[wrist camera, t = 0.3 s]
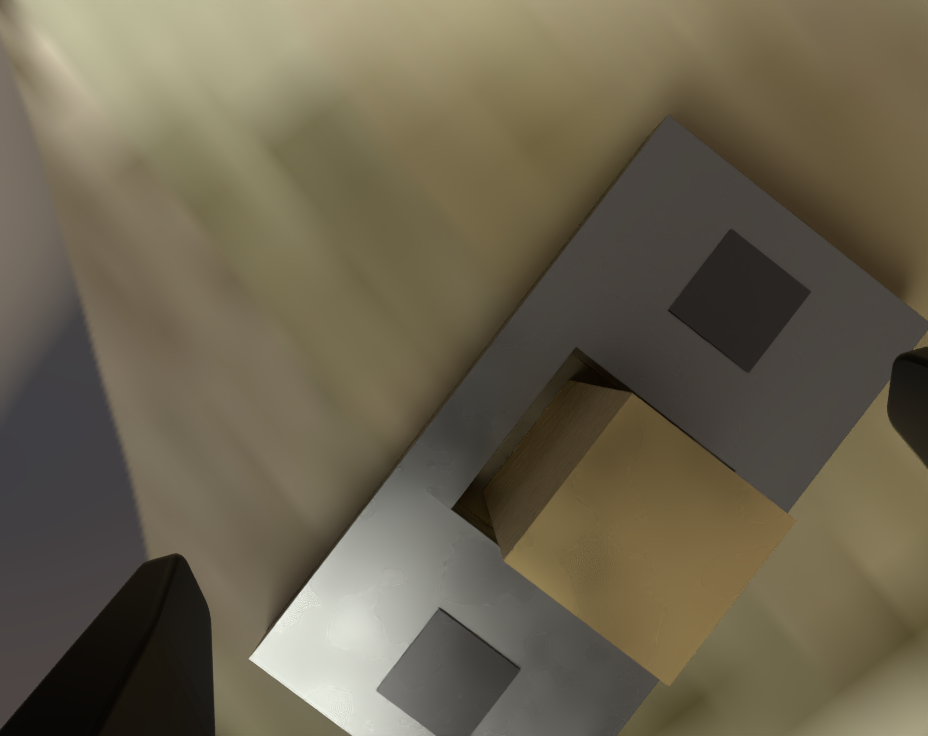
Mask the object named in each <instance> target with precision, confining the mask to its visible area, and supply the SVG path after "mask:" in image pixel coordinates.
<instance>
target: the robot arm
mask: <svg viewBox="0 0 928 736" xmlns="http://www.w3.org/2000/svg"><path fill="white" fill-rule="evenodd" d="M887 412H888V417H889V420H890V422H891V424H892V426H893V428H894V429H895V430H896V432H897V433H898V434H899V435H900V436H901V438H902V439H903V440H904V441H905V442H906V444H907V445H908V446H909V447H910V448H911V450H912V451H913V452H914V453H915V455H916V456H917V457H918V458H919V459H920V461H921V462H922V463H923V464H924V465H925V467H926V468H927V469H928V347H923V348H919V349H915V350H912V351H908V352H904V353H902V354H900V355H899V356H897V357H896V359H895V360H894V362H893V366H892V372H891V380H890V388H889V396H888V404H887ZM0 736H215V711H214V684H213V657H212V630H211V617H210V612H209V608H208V605H207V602H206V600H205V598H204V596H203V594H202V592H201V590H200V587H199V585H198V583H197V581H196V579H195V577H194V575H193V573H192V571H191V569H190V566H189V564H188V562H187V561H186V559H185V558H184V557H183V556H182V555H180V554H177V553H175V554H171V555H167V556H164V557H160V558H156V559H153V560H149V561H146V562H144V563H143V564H142V565H141V566H140V567H139V568H138V569H137V570H136V571H135V572H134V574H133V575H132V576H131V577H130V578H129V580H128V581H127V582H126V583H125V584H124V585H123V587H122V588H121V589H120V590H119V591H118V592H117V593H116V595H115V596H114V597H113V598H112V599H111V600H110V602H109V603H108V604H107V605H106V606H105V608H104V609H103V610H102V611H101V612H100V613H99V615H98V616H97V617H96V618H95V619H94V620H93V622H92V623H91V624H90V625H89V626H88V627H87V629H86V630H85V631H84V632H83V633H82V634H81V636H80V637H79V638H78V639H77V640H76V642H75V643H74V644H73V645H72V646H71V647H70V648H69V650H68V651H67V652H66V653H65V654H64V655H63V657H62V658H61V659H60V660H59V661H58V662H57V664H56V665H55V666H54V667H53V668H52V669H51V671H50V672H49V673H48V674H47V675H46V676H45V678H44V679H43V680H42V681H41V682H40V683H39V685H38V686H37V687H36V688H35V689H34V690H33V692H32V693H31V694H30V695H29V696H28V697H27V699H26V700H25V701H24V702H23V703H22V704H21V706H20V707H19V708H18V709H17V710H16V712H15V713H14V714H13V715H12V716H11V717H10V719H9V720H8V721H7V722H6V723H5V724H4V726H3V727H2V728H1V729H0Z"/></svg>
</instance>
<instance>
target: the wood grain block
mask: <svg viewBox="0 0 928 736" xmlns="http://www.w3.org/2000/svg"><path fill="white" fill-rule="evenodd" d="M483 494H484V497H485V501H486V504H487V507H488V511H489V514H490V517H491V521H492V524H493V527H494V531H495V534H496V537H497V541H498V544H499V547H500V551H501V554H502V557H503V561H504V562H506V563H507V564H508V565H510V566H511V567H512V568H514V569H515V570H516V571H518V572H519V573H520V574H521V575H523V576H524V577H525V578H527V579H528V580H529V581H531V582H532V583H533V584H535V585H536V586H537V587H539V588H540V589H541V590H542V591H544V592H545V593H546V594H548V595H549V596H550V597H552V598H553V599H554V600H556V601H557V602H558V603H560V604H561V605H562V606H563V607H565V608H566V609H567V610H569V611H570V612H571V613H573V614H574V615H575V616H577V617H578V618H579V619H581V620H582V621H583V622H584V623H586V624H587V625H588V626H590V627H591V628H592V629H594V630H595V631H596V632H598V633H599V634H600V635H602V636H603V637H604V638H606V639H607V640H608V641H609V642H611V643H612V644H613V645H615V646H616V647H617V648H619V649H620V650H621V651H623V652H624V653H625V654H627V655H628V656H629V657H630V658H632V659H633V660H634V661H636V662H637V663H638V664H640V665H641V666H642V667H644V668H645V669H646V670H648V671H649V672H650V673H651V674H653V675H654V676H655V677H657V678H658V679H659V680H661V681H662V682H663V683H665V684H666V685H667V686H670V685H671V684H672V682H673V681H674V680H675V678H676V677H677V676H678V675H679V673H680V672H681V671H682V669H683V668H684V667H685V665H686V664H687V663H688V661H689V660H690V659H691V658H692V656H693V655H694V654H695V652H696V651H697V650H698V648H699V647H700V646H701V645H702V643H703V642H704V641H705V639H706V638H707V637H708V635H709V634H710V633H711V632H712V630H713V629H714V628H715V626H716V625H717V624H718V622H719V621H720V620H721V619H722V617H723V616H724V615H725V613H726V612H727V611H728V609H729V608H730V607H731V606H732V604H733V603H734V602H735V600H736V599H737V598H738V596H739V595H740V594H741V592H742V591H743V590H744V589H745V587H746V586H747V585H748V583H749V582H750V581H751V579H752V578H753V577H754V576H755V574H756V573H757V572H758V570H759V569H760V568H761V566H762V565H763V564H764V563H765V561H766V560H767V559H768V557H769V556H770V555H771V553H772V552H773V551H774V550H775V548H776V547H777V546H778V544H779V543H780V542H781V540H782V539H783V538H784V536H785V535H786V534H787V533H788V531H789V530H790V529H791V527H792V526H793V525H794V523H795V522H796V520H795V519H794V518H793V517H791V516H790V515H789V514H787V513H786V512H785V511H784V510H782V509H781V508H780V507H778V506H777V505H776V504H775V503H773V502H772V501H771V500H769V499H768V498H767V497H765V496H764V495H763V494H762V493H760V492H759V491H758V490H756V489H755V488H754V487H753V486H751V485H750V484H749V483H747V482H746V481H745V480H744V479H742V478H741V477H740V476H738V475H737V474H736V473H735V472H733V471H732V470H731V469H729V468H728V467H727V466H726V465H724V464H723V463H722V462H720V461H719V460H718V459H717V458H715V457H714V456H713V455H711V454H710V453H709V452H708V451H706V450H705V449H704V448H702V447H701V446H700V445H699V444H697V443H696V442H695V441H693V440H692V439H691V438H690V437H688V436H687V435H686V434H684V433H683V432H682V431H681V430H679V429H678V428H677V427H675V426H674V425H673V424H672V423H670V422H669V421H668V420H666V419H665V418H664V417H663V416H661V415H660V414H659V413H657V412H656V411H655V410H654V409H652V408H651V407H650V406H648V405H647V404H646V403H645V402H643V401H642V400H641V399H639V398H638V397H637V396H636V395H634V394H633V393H629V392H624V391H619V390H615V389H610V388H605V387H600V386H595V385H590V384H585V383H580V382H575V381H570V380H568V382H567V383H566V384H565V385H564V387H563V388H562V389H561V391H560V392H559V393H558V395H557V396H556V397H555V398H554V400H553V401H552V402H551V404H550V405H549V406H548V408H547V409H546V410H545V411H544V413H543V414H542V415H541V417H540V418H539V419H538V421H537V422H536V423H535V424H534V426H533V427H532V428H531V430H530V431H529V432H528V434H527V435H526V436H525V437H524V439H523V440H522V441H521V443H520V444H519V445H518V446H517V448H516V449H515V450H514V452H513V453H512V454H511V456H510V457H509V458H508V459H507V461H506V462H505V463H504V465H503V466H502V467H501V469H500V470H499V471H498V472H497V474H496V475H495V476H494V478H493V479H492V480H491V482H490V483H489V484H488V485H487V487H486V488H485V489H484V491H483Z"/></svg>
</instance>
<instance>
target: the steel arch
mask: <svg viewBox="0 0 928 736" xmlns="http://www.w3.org/2000/svg"><path fill="white" fill-rule="evenodd" d="M927 330H928V321H927V320H926V319H924V318H923V317H922V316H921V315H919V314H918V313H917V312H916V311H914V310H913V309H912V308H911V307H909V306H908V305H907V304H906V303H904V302H903V301H902V300H901V299H899V298H898V297H897V296H896V295H894V294H893V293H892V292H891V291H889V290H888V289H887V288H885V287H884V286H883V285H882V284H880V283H879V282H878V281H877V280H875V279H874V278H873V277H872V276H870V275H869V274H868V273H867V272H865V271H864V270H863V269H862V268H860V267H859V266H858V265H857V264H855V263H854V262H853V261H852V260H850V259H849V258H848V257H847V256H845V255H844V254H843V253H842V252H840V251H839V250H838V249H836V248H835V247H834V246H833V245H831V244H830V243H829V242H828V241H826V240H825V239H824V238H823V237H821V236H820V235H819V234H818V233H816V232H815V231H814V230H813V229H811V228H810V227H809V226H808V225H806V224H805V223H804V222H803V221H801V220H800V219H799V218H798V217H796V216H795V215H794V214H793V213H791V212H790V211H789V210H787V209H786V208H785V207H784V206H782V205H781V204H780V203H779V202H777V201H776V200H775V199H774V198H772V197H771V196H770V195H769V194H767V193H766V192H765V191H764V190H762V189H761V188H760V187H759V186H757V185H756V184H755V183H754V182H752V181H751V180H750V179H749V178H747V177H746V176H745V175H744V174H742V173H741V172H740V171H738V170H737V169H736V168H735V167H733V166H732V165H731V164H730V163H728V162H727V161H726V160H725V159H723V158H722V157H721V156H720V155H718V154H717V153H716V152H715V151H713V150H712V149H711V148H710V147H708V146H707V145H706V144H705V143H703V142H702V141H701V140H700V139H698V138H697V137H696V136H695V135H693V134H692V133H691V132H689V131H688V130H687V129H686V128H684V127H683V126H682V125H681V124H679V123H678V122H677V121H676V120H674V119H673V118H672V117H671V116H669V115H668V116H667V117H666V118H665V119H664V120H663V121H662V122H661V123H660V124H659V125H658V126H657V127H656V128H655V129H654V130H653V132H652V133H651V134H650V135H649V136H648V137H647V139H646V140H645V141H644V142H643V144H642V145H641V146H640V148H639V149H638V150H637V151H636V153H635V154H634V155H633V157H632V158H631V159H630V161H629V162H628V163H627V164H626V166H625V167H624V168H623V170H622V171H621V172H620V174H619V175H618V176H617V177H616V179H615V180H614V181H613V183H612V184H611V185H610V187H609V188H608V189H607V190H606V192H605V193H604V194H603V196H602V197H601V198H600V200H599V201H598V202H597V203H596V205H595V206H594V207H593V209H592V210H591V211H590V212H589V214H588V215H587V216H586V218H585V219H584V220H583V222H582V223H581V224H580V225H579V227H578V228H577V229H576V231H575V232H574V233H573V235H572V236H571V237H570V238H569V240H568V241H567V242H566V244H565V245H564V246H563V248H562V249H561V250H560V251H559V253H558V254H557V255H556V257H555V258H554V259H553V260H552V262H551V263H550V264H549V266H548V267H547V268H546V270H545V271H544V272H543V273H542V275H541V276H540V277H539V279H538V280H537V281H536V283H535V284H534V285H533V286H532V288H531V289H530V290H529V292H528V293H527V294H526V296H525V297H524V298H523V299H522V301H521V302H520V303H519V305H518V306H517V307H516V308H515V310H514V311H513V312H512V314H511V315H510V316H509V318H508V319H507V320H506V321H505V323H504V324H503V325H502V327H501V328H500V329H499V331H498V332H497V333H496V334H495V336H494V337H493V338H492V340H491V341H490V342H489V344H488V345H487V346H486V347H485V349H484V350H483V351H482V353H481V354H480V355H479V357H478V358H477V359H476V360H475V362H474V363H473V364H472V366H471V367H470V368H469V369H468V371H467V372H466V373H465V375H464V376H463V377H462V379H461V380H460V381H459V382H458V384H457V385H456V386H455V388H454V389H453V390H452V392H451V393H450V394H449V395H448V397H447V398H446V399H445V401H444V402H443V403H442V405H441V406H440V407H439V408H438V410H437V411H436V412H435V414H434V415H433V416H432V417H431V419H430V420H429V421H428V423H427V424H426V425H425V427H424V428H423V429H422V430H421V432H420V433H419V434H418V436H417V437H416V438H415V440H414V441H413V442H412V443H411V445H410V446H409V447H408V449H407V450H406V451H405V453H404V454H403V455H402V456H401V458H400V459H399V460H398V462H397V463H396V464H395V466H394V467H393V468H392V469H391V471H390V472H389V473H388V475H387V476H386V477H385V478H384V480H383V481H382V482H381V484H380V485H379V486H378V488H377V489H376V490H375V491H374V493H373V494H372V495H371V497H370V498H369V499H368V501H367V502H366V503H365V504H364V506H363V507H362V508H361V510H360V511H359V512H358V514H357V515H356V516H355V517H354V519H353V520H352V521H351V523H350V524H349V525H348V526H347V528H346V529H345V530H344V532H343V533H342V534H341V536H340V537H339V538H338V539H337V541H336V542H335V543H334V545H333V546H332V547H331V549H330V550H329V551H328V552H327V554H326V555H325V556H324V558H323V559H322V560H321V562H320V563H319V564H318V565H317V567H316V568H315V569H314V571H313V572H312V573H311V575H310V576H309V577H308V578H307V580H306V581H305V582H304V584H303V585H302V586H301V587H300V589H299V590H298V591H297V593H296V594H295V595H294V597H293V598H292V599H291V600H290V602H289V603H288V604H287V606H286V607H285V608H284V610H283V611H282V612H281V613H280V615H279V616H278V617H277V619H276V620H275V621H274V623H273V624H272V625H271V626H270V628H269V629H268V630H267V632H266V633H265V634H264V636H263V638H262V639H261V641H260V642H259V644H258V646H257V647H256V649H255V650H254V652H253V653H252V655H251V657H250V658H249V659H250V660H251V661H253V662H254V663H255V664H257V665H258V666H259V667H261V668H262V669H263V670H265V671H266V672H267V673H269V674H270V675H271V676H273V677H274V678H275V679H277V680H278V681H279V682H281V683H282V684H283V685H285V686H286V687H288V688H289V689H290V690H292V691H293V692H294V693H296V694H297V695H298V696H300V697H301V698H302V699H304V700H305V701H306V702H308V703H309V704H310V705H312V706H313V707H314V708H316V709H317V710H318V711H320V712H321V713H322V714H324V715H325V716H327V717H328V718H329V719H331V720H332V721H333V722H335V723H336V724H337V725H339V726H340V727H341V728H343V729H344V730H345V731H347V732H348V733H349V734H351V735H352V736H617V735H618V733H619V732H620V731H621V729H622V728H623V727H624V725H625V724H626V723H627V722H628V720H629V719H630V718H631V716H632V715H633V714H634V712H635V711H636V710H637V709H638V707H639V706H640V705H641V703H642V702H643V701H644V699H645V698H646V697H647V695H648V694H649V693H650V692H651V690H652V689H653V688H654V686H655V685H656V684H657V682H658V681H659V679H658V678H657V677H655V676H654V675H653V674H651V673H650V672H649V671H648V670H646V669H645V668H644V667H642V666H641V665H640V664H638V663H637V662H636V661H634V660H633V659H632V658H630V657H629V656H628V655H627V654H625V653H624V652H623V651H621V650H620V649H619V648H617V647H616V646H615V645H613V644H612V643H611V642H609V641H608V640H607V639H606V638H604V637H603V636H602V635H600V634H599V633H598V632H596V631H595V630H594V629H592V628H591V627H590V626H588V625H587V624H586V623H584V622H583V621H582V620H581V619H579V618H578V617H577V616H575V615H574V614H573V613H571V612H570V611H569V610H567V609H566V608H565V607H563V606H562V605H561V604H560V603H558V602H557V601H556V600H554V599H553V598H552V597H550V596H549V595H548V594H546V593H545V592H544V591H542V590H541V589H540V588H539V587H537V586H536V585H535V584H533V583H532V582H531V581H529V580H528V579H527V578H525V577H524V576H523V575H521V574H520V573H519V572H518V571H516V570H515V569H514V568H512V567H511V566H510V565H508V564H507V563H506V562H504V561H503V557H502V554H501V551H500V547H499V544H498V541H497V537H496V534H495V531H494V530H493V529H492V528H491V527H489V526H488V525H487V524H486V523H484V522H483V521H482V520H480V519H479V518H478V517H476V516H475V515H474V514H472V513H471V512H470V511H469V510H467V509H466V508H465V507H463V506H462V505H461V504H459V503H458V502H457V501H458V499H459V498H460V497H461V495H462V494H463V493H464V491H465V490H466V489H467V488H468V486H469V485H470V484H471V482H472V481H473V480H474V478H475V477H476V476H477V475H478V473H479V472H480V471H481V469H482V468H483V467H484V465H485V464H486V463H487V462H488V460H489V459H490V458H491V456H492V455H493V454H494V452H495V451H496V450H497V449H498V447H499V446H500V445H501V443H502V442H503V441H504V439H505V438H506V437H507V436H508V434H509V433H510V432H511V430H512V429H513V428H514V427H515V425H516V424H517V423H518V421H519V420H520V419H521V417H522V416H523V415H524V414H525V412H526V411H527V410H528V408H529V407H530V406H531V404H532V403H533V402H534V401H535V399H536V398H537V397H538V395H539V394H540V393H541V391H542V390H543V389H544V388H545V386H546V385H547V384H548V382H549V381H550V380H551V378H552V377H553V376H554V375H555V373H556V372H557V371H558V369H559V368H560V367H561V365H562V364H563V363H564V362H565V360H566V359H567V358H568V356H569V355H570V354H571V353H573V354H574V355H575V356H577V357H578V358H579V359H580V360H582V361H583V362H584V363H586V364H587V365H588V366H589V367H591V368H592V369H593V370H595V371H596V372H597V373H598V374H600V375H601V376H602V377H604V378H605V379H606V380H608V381H609V382H610V383H611V384H613V385H614V386H615V387H617V388H618V389H619V390H620V391H624V392H629V393H633V394H634V395H636V396H637V397H638V398H639V399H641V400H642V401H643V402H645V403H646V404H647V405H648V406H650V407H651V408H652V409H654V410H655V411H656V412H657V413H659V414H660V415H661V416H663V417H664V418H665V419H666V420H668V421H669V422H670V423H672V424H673V425H674V426H675V427H677V428H678V429H679V430H681V431H682V432H683V433H684V434H686V435H687V436H688V437H690V438H691V439H692V440H693V441H695V442H696V443H697V444H699V445H700V446H701V447H702V448H704V449H705V450H706V451H708V452H709V453H710V454H711V455H713V456H714V457H715V458H717V459H718V460H719V461H720V462H722V463H723V464H724V465H726V466H727V467H728V468H729V469H731V470H732V471H733V472H735V473H736V474H737V475H738V476H740V477H741V478H742V479H744V480H745V481H746V482H747V483H749V484H750V485H751V486H753V487H754V488H755V489H756V490H758V491H759V492H760V493H762V494H763V495H764V496H765V497H767V498H768V499H769V500H771V501H772V502H773V503H775V504H776V505H777V506H778V507H780V508H781V509H782V510H784V511H785V512H786V513H788V512H789V510H790V509H791V508H792V506H793V505H794V504H795V502H796V501H797V500H798V499H799V497H800V496H801V495H802V493H803V492H804V491H805V489H806V488H807V487H808V486H809V484H810V483H811V482H812V480H813V479H814V478H815V476H816V475H817V474H818V472H819V471H820V470H821V469H822V467H823V466H824V465H825V463H826V462H827V461H828V459H829V458H830V457H831V456H832V454H833V453H834V452H835V450H836V449H837V448H838V446H839V445H840V444H841V442H842V441H843V440H844V439H845V437H846V436H847V435H848V433H849V432H850V431H851V429H852V428H853V427H854V426H855V424H856V423H857V422H858V420H859V419H860V418H861V416H862V415H863V414H864V412H865V411H866V410H867V409H868V407H869V406H870V405H871V403H872V402H873V401H874V399H875V398H876V397H877V396H878V394H879V393H880V392H881V390H882V389H883V388H884V386H885V385H886V384H887V382H888V381H889V380H890V379H891V372H892V366H893V362H894V360H895V359H896V357H897V356H899V355H900V354H902V353H904V352H908V351H912V350H913V349H914V347H915V346H916V345H917V343H918V342H919V341H920V339H921V338H922V337H923V336H924V334H925V333H926V332H927Z"/></svg>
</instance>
